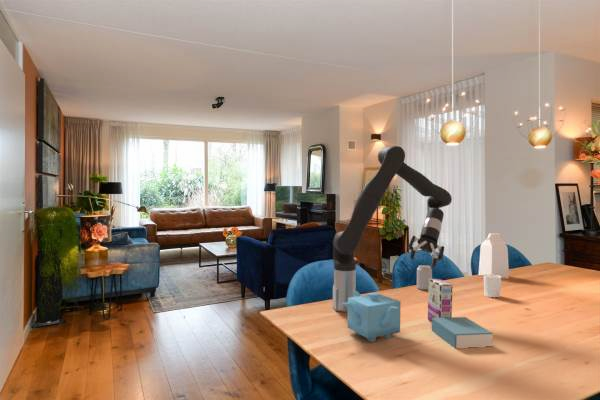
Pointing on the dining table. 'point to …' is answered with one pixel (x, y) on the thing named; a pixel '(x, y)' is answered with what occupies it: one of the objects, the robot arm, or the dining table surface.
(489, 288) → the white cup
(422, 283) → the can
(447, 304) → the candy bar box
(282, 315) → the dining table surface
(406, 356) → the dining table surface
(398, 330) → the teakettle
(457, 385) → the dining table surface
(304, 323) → the dining table surface
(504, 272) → the milk
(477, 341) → the teal rectangular box
